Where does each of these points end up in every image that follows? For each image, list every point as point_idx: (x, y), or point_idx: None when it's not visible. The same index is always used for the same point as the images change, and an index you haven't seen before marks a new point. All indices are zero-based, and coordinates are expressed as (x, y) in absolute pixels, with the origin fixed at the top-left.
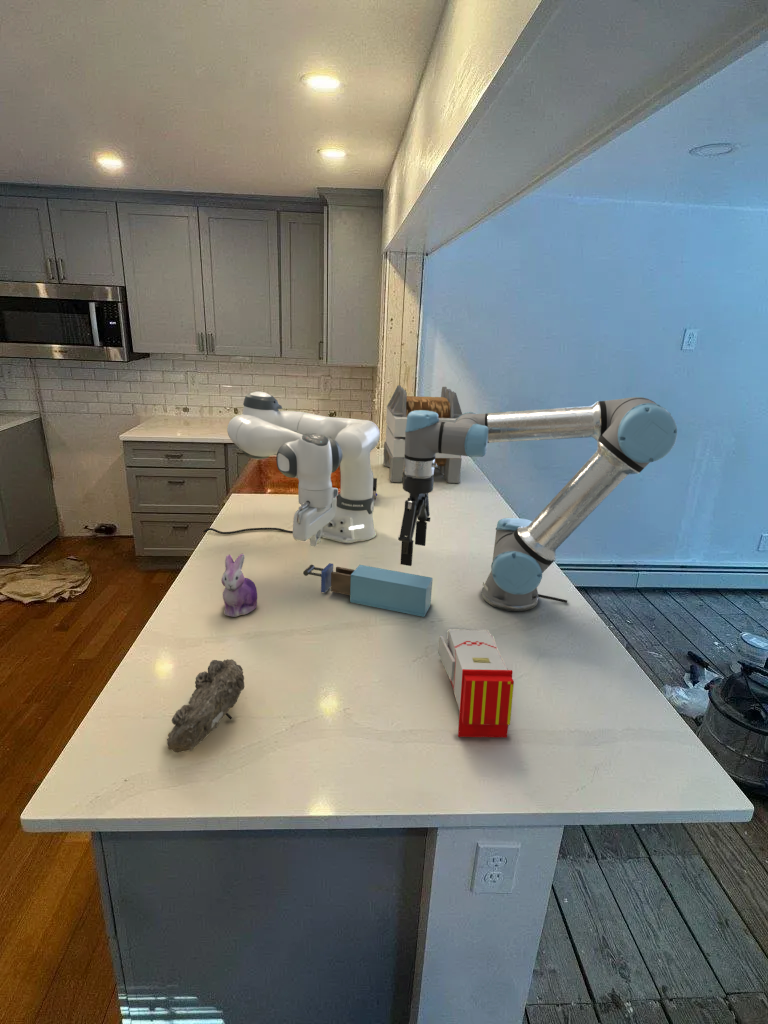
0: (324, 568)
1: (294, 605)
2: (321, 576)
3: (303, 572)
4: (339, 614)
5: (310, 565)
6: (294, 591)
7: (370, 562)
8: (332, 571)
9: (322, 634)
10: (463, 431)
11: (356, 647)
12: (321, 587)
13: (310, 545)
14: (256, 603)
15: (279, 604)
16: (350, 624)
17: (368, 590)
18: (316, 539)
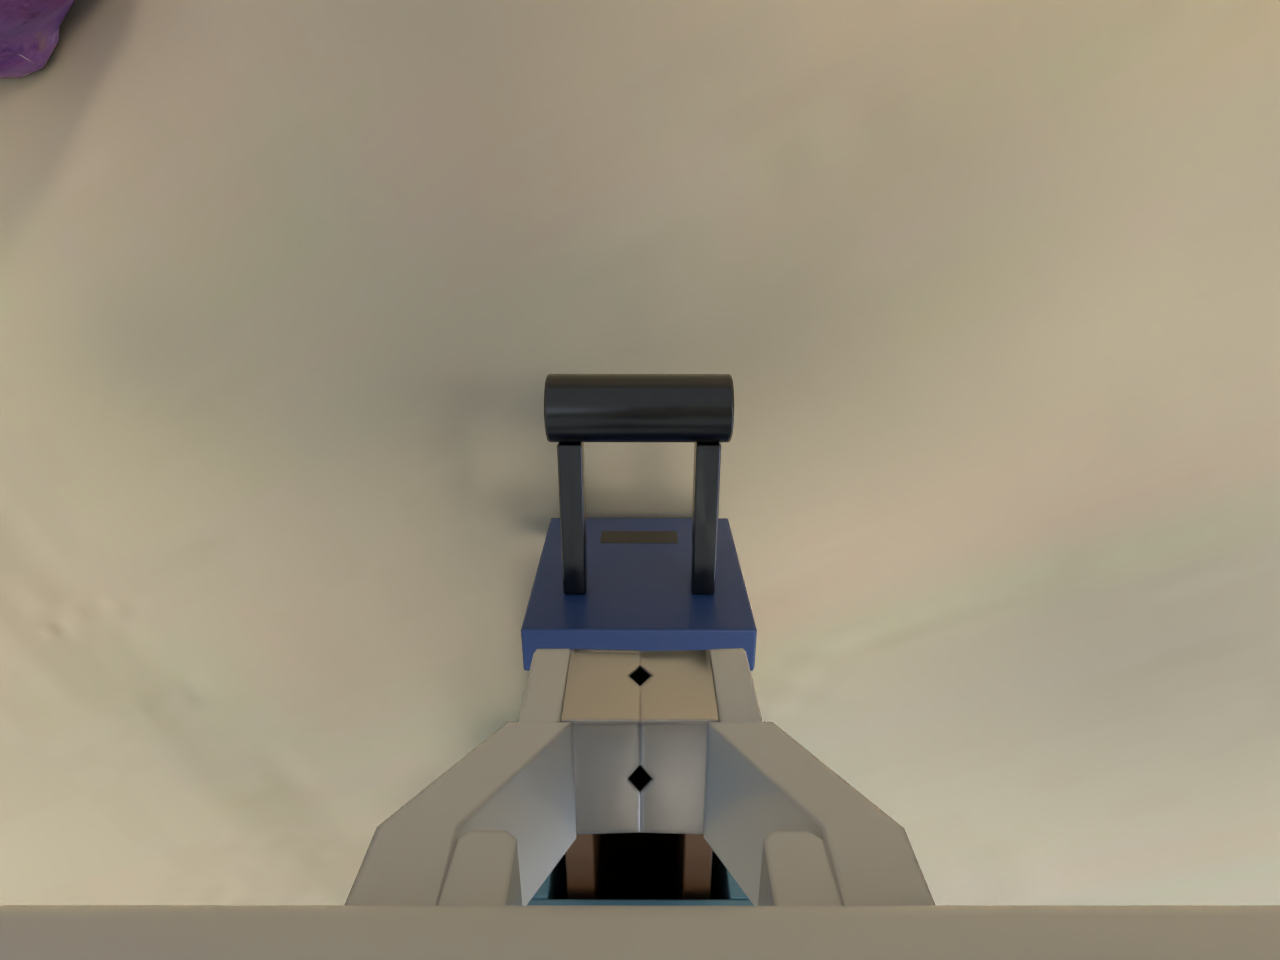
0: (599, 635)
1: (295, 382)
2: (531, 598)
3: (546, 382)
4: (360, 716)
5: (699, 410)
6: (515, 265)
7: (1274, 645)
8: None
9: (82, 711)
10: None
11: (95, 897)
12: (546, 541)
13: (534, 653)
14: (2, 73)
15: (237, 251)
16: (287, 806)
17: None
18: (547, 854)
